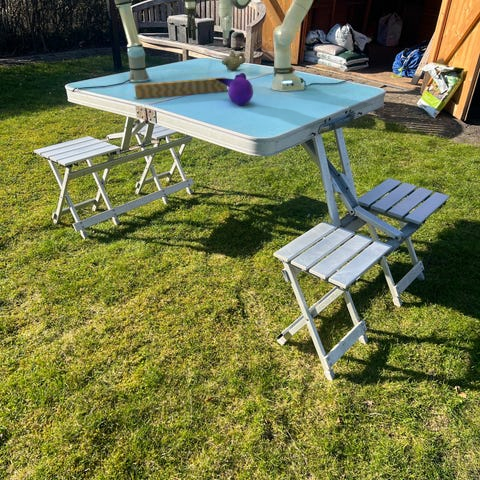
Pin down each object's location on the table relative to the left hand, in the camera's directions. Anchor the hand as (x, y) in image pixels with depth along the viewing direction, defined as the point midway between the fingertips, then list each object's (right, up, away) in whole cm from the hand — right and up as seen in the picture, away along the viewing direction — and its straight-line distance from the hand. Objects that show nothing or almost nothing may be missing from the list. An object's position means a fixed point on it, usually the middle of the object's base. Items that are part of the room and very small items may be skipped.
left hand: (192, 39), depth 343 cm
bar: (-2, -57, -45) cm, 73 cm away
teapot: (+31, -13, +28) cm, 44 cm away
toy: (+34, -69, -67) cm, 103 cm away
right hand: (+28, -24, -56) cm, 66 cm away
